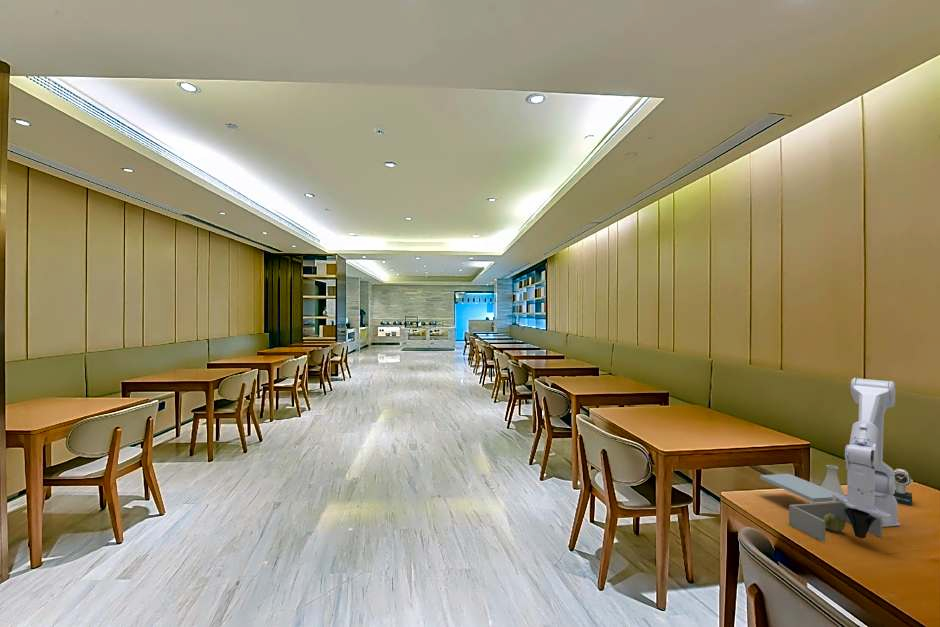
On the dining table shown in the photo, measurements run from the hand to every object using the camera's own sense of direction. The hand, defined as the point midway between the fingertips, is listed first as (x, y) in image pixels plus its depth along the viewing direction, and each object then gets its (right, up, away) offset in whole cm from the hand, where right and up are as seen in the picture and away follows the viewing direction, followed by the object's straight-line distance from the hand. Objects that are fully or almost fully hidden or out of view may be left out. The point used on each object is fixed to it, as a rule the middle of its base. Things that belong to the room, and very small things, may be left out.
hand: (860, 536), depth 125 cm
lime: (-2, -2, +7) cm, 8 cm away
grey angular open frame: (-1, -2, +7) cm, 7 cm away
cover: (+1, +4, +23) cm, 23 cm away
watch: (+39, -3, +29) cm, 49 cm away
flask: (+20, -3, +35) cm, 40 cm away
